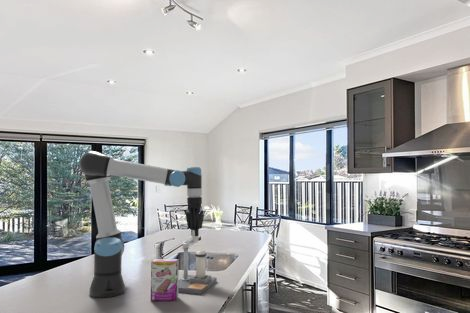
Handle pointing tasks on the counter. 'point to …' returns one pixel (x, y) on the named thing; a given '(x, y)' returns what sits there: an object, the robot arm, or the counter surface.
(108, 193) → the robot arm
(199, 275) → the clear cream cylinder
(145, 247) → the counter surface
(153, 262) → the candy bar box
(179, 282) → the grey stand
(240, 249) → the counter surface
